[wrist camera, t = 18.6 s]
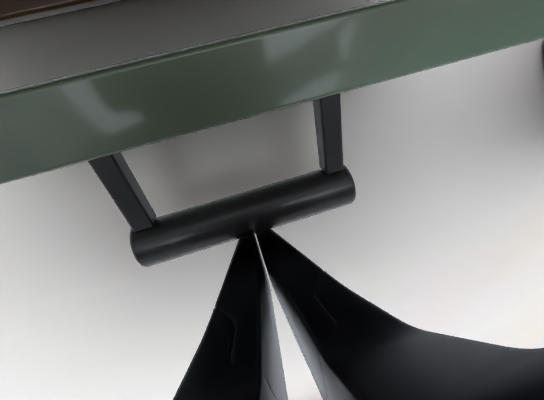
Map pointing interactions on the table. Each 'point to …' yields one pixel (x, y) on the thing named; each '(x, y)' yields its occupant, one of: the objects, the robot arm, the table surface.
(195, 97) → the drawer
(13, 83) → the table surface
